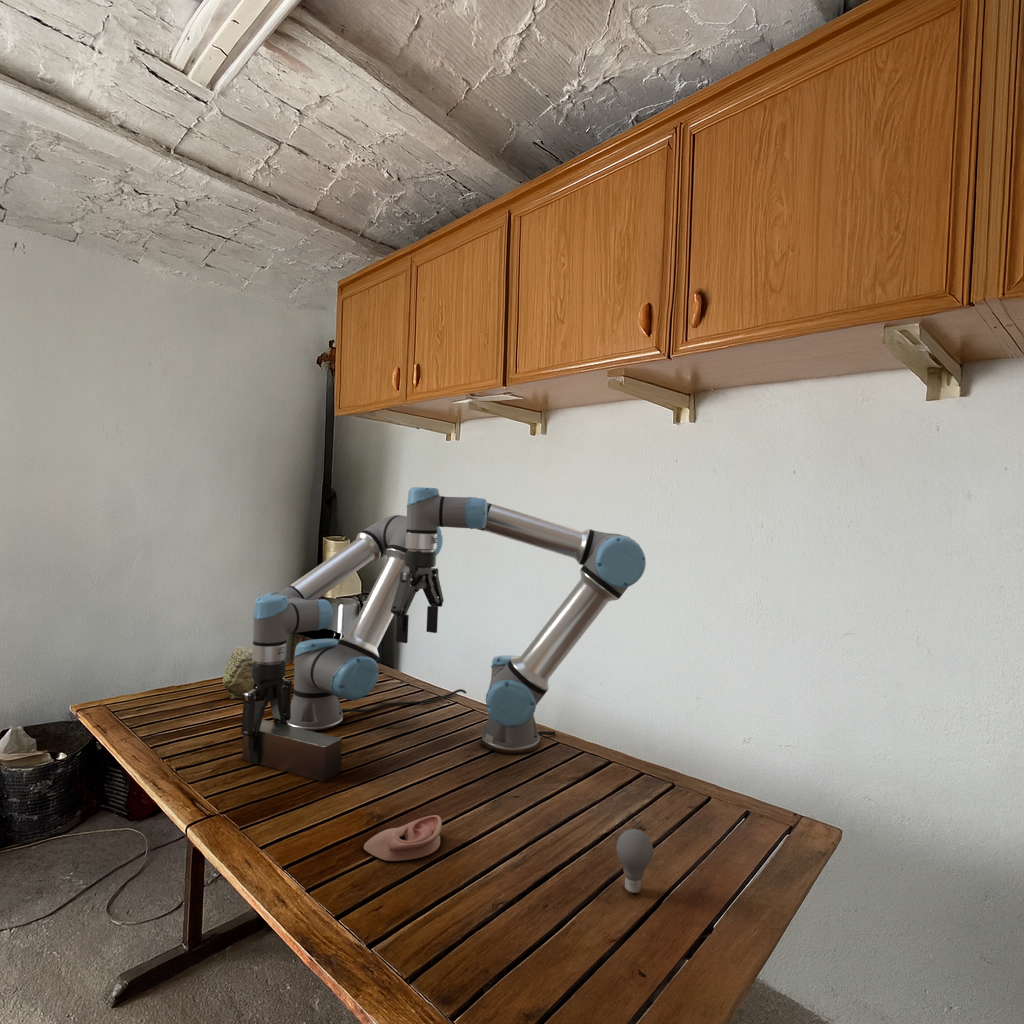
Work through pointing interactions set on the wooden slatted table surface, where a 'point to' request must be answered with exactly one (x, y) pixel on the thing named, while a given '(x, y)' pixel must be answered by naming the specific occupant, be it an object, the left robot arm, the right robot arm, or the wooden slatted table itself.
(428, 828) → the anatomical model
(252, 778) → the wooden slatted table surface
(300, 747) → the bar
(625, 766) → the wooden slatted table surface
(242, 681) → the fossil
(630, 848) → the light bulb
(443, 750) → the wooden slatted table surface
